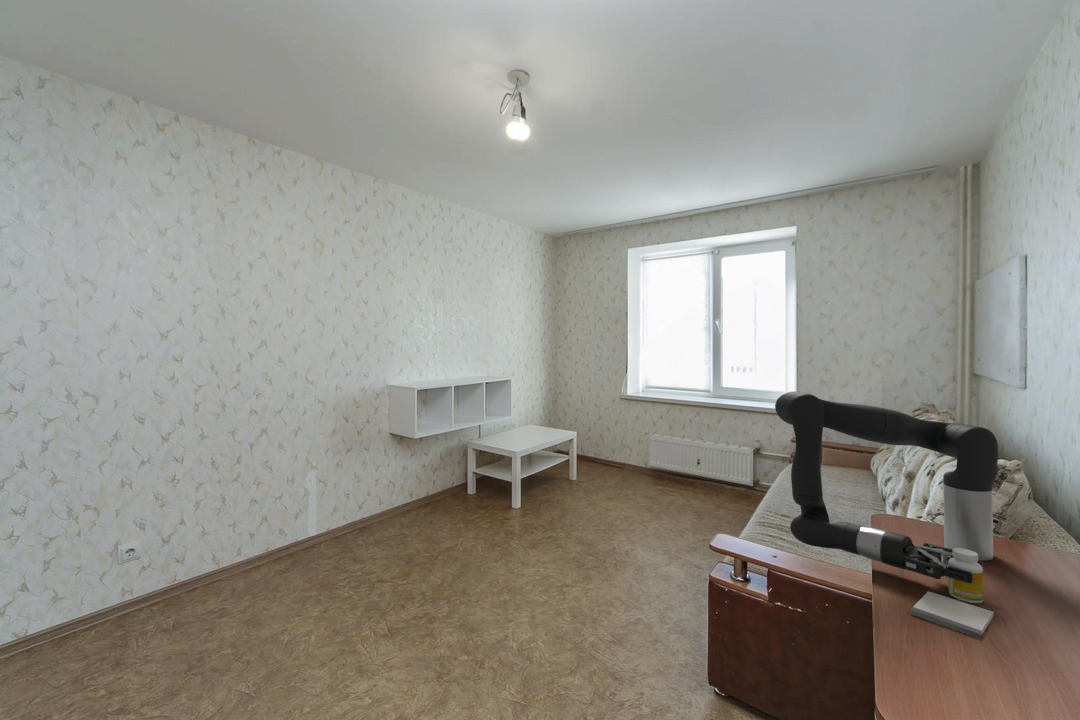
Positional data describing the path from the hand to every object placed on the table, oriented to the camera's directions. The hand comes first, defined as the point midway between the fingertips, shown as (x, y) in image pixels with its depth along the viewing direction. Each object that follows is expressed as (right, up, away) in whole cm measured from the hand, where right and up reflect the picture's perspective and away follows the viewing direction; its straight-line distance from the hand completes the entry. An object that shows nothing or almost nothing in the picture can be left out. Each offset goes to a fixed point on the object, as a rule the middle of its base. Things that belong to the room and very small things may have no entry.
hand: (977, 572), depth 94 cm
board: (-10, -6, -5) cm, 13 cm away
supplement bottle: (-1, -6, +2) cm, 6 cm away
